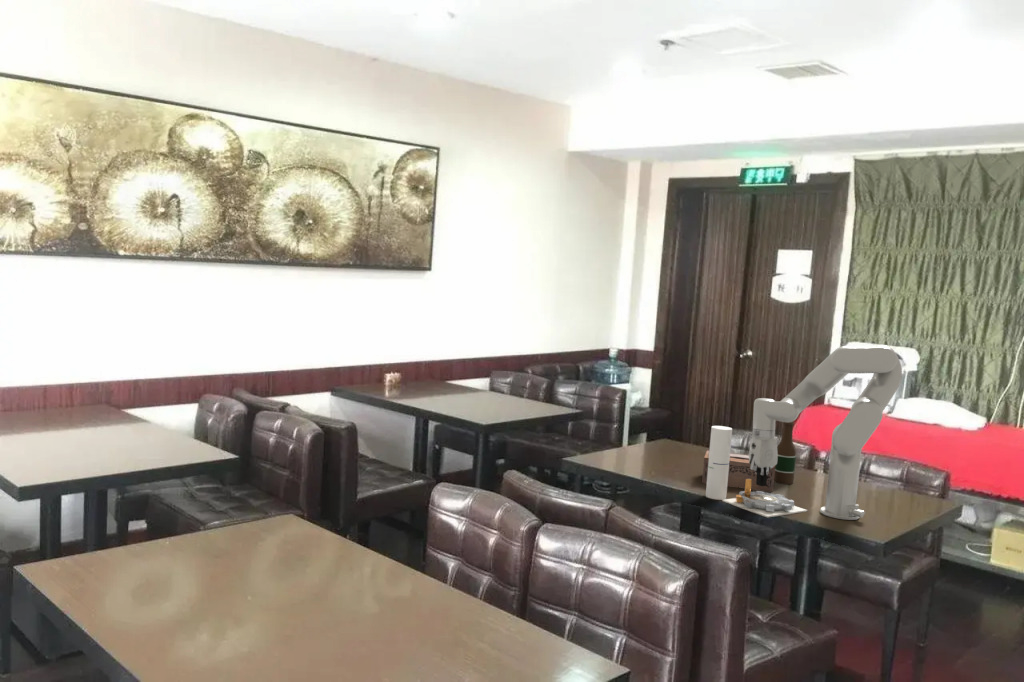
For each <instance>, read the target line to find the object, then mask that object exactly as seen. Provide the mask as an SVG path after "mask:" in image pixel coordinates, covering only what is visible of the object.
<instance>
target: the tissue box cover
mask: <svg viewBox="0 0 1024 682" xmlns="http://www.w3.org/2000/svg"><path fill="white" fill-rule="evenodd" d="M709 451H710V450H706V452H705V455H704V457H703V467H702V480H701V481H702V482H701V483H704V484H707V474H708V462H709ZM750 467H751V465H750V464H749V454H741V453H740V454H739V453H732V452H730V460H729V471H728V483H727V487H733V488H738V487H739V488H740V489H745V483H746V479H751V480H752V483H751V490H756V491H763V492H767V493H773V492H774V484H775V481H774V474H775V466H774V467H773V468H771V469H770V470H769V472H768V475H767V484H766V486H759V485H757V484H756V479H757V474H756V473H755V470H751V469H750Z"/></svg>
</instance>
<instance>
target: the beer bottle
mask: <svg viewBox="0 0 1024 682" xmlns="http://www.w3.org/2000/svg"><path fill="white" fill-rule="evenodd" d="M783 425H784V426H783V431H782V436H781V437H782V438H781V441H780V442H779V443H777V453H778V458H777V464H776V465H775V474H774V483H776V484H781V485H792V484H793V483H794V479H795V470H796V469H795V468H796V462H797V449H796V446H795V445H794V443H793V429H794V428H793V427H794V421H793V422H789V423H786V422H783Z"/></svg>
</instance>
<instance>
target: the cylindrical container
mask: <svg viewBox="0 0 1024 682" xmlns="http://www.w3.org/2000/svg"><path fill="white" fill-rule="evenodd" d="M732 435H733V428H732V427H729V426H724V425H712V426H711V429H710V439H709V441H710V442H709V450H708V451H709V462H708V474H707V483H706V486H705V487H706V488H705V497H706V498H708V499H711V500H719V501H720V500H724V499H727V494H728V493H727V492H728V486H727V483H728V471H729V460H730V453H731V449H732V448H731V446H732V438H733V437H732Z"/></svg>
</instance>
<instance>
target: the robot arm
mask: <svg viewBox="0 0 1024 682" xmlns="http://www.w3.org/2000/svg"><path fill="white" fill-rule="evenodd" d="M848 374H873V375H872V377H871V379H870V380H869V382H868V383H867V385H866V386H865V388H864V390H863V391H862V392H861V394H860V395H859V396H858V397H857V398H856V400H854V402H853V404H852V405H851V409H850V411H849V412H848V414H847V415H846V416H845V418H844V419H843V421H842V422H841V423H840V424H838V425H836V427H835V428H834V429H833V430H832V434H831V447H830V458H829V466H828V467H829V468H828V476H827V477H828V478H827V487H826V497H825V498H826V499H825V505H824V506H822V507H820V511H819V512H820V513H821V514H822V515H824V516H827V517H830V518H833V519H839V520H844V521H856V520H859V519H860V518H863V517H864V516H865V514H866V511H865V510H862V509H860V508H859V507H860V505H859V504H858V503H857V497H858V488H859V487H858V486H859V478H860V477H859V476H860V470H861V469H860V468H861V462H862V461H861V459H862V451H863V447H865V445H866V443H867V442H868V441H869V440H870V438H871V437H872V435H873V434H874V433H875V431H876V430H877V428H878V427H879V425H880V423H881V421H882V419H883V414H884V410H885V409H886V408H887V406H888V404H889V403H890V402H891V401H892V398H893V396H894V395H895V393H896V392H897V390H898V389H899V386H900V384H901V382H902V375H903V369H902V363H901V361H900V359H899V356H898V355H897V353H896V351H895V350H894V349H893V348H892V347H890V346H889V345H886V344H878V345H876V346H872V347H871V346H870V347H850V346H847V345H843V346H839V347H837V348H835V349H834V351H832V353H830V354H829V355H828V356H827V357H826V358H825V359H824V360H823V361H821V363H820V364H818V365H817V366H816V367H815V368H814V369H813V370H811V371H810V372H809V373H808V375H806V376H805V377H804V378H803V380H801V382H800V383H798V385H797V386H795V388H794V389H792V390H791V391H790V392H788V393H787V395H785V397H783V398H782V399H781V400H780V401H776V400H775V399H773V398H766V397H761V398H760V397H759V398H758V397H757V398H756V399H755V400H754V402H753V414H752V415H753V417H752V419H753V420H752V432H751V434H752V435H751V436H752V437H751V440H750V445H749V451H748V455H749V464H750V465H751V467H750V469H751V470H755V473H756V474H757V479H756V484H757V485H759V486H766V484H767V475H768V472H769V470H770V469H771V468H773V467H774V466H775V465H776V464H777V458H778V453H777V446H778V441H777V438H776V422H777V421H778V422H781V423H784V422H786V423H789V422H793V423H794V421H796V419H797V418H798V417H799V415H800V413H802V412H803V410H805V409H806V408H807V407H808V406H809V405H811V403H813V402H814V401H815V400H816V399H818V398H819V397H822V396H823V395H824V396H825V394H827V393H828V392H829V391H831V389H832V388H834V387H835V386H836V385H837V384H839V382H841V380H843V379H844V378H845V377H846V376H848Z"/></svg>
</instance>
